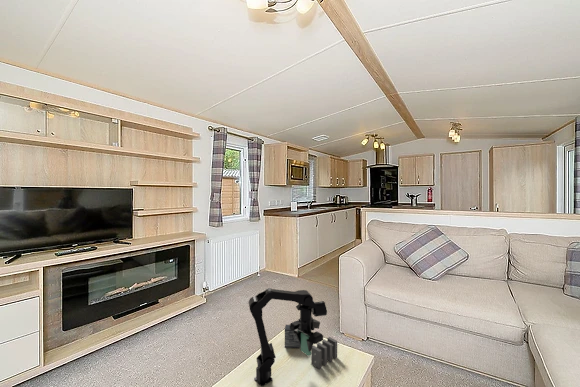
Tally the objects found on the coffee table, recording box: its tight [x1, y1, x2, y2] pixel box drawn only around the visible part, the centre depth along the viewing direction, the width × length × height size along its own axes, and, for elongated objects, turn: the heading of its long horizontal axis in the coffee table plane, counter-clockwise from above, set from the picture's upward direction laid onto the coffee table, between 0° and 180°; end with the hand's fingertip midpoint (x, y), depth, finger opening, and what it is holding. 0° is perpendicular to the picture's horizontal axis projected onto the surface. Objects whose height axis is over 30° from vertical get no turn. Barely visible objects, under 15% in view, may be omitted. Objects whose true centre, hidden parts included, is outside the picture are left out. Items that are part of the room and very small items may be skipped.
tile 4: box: [321, 339, 333, 363], centre depth 139 cm, size 2×6×9 cm, turn 40°
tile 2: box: [310, 345, 323, 370], centre depth 133 cm, size 2×6×9 cm, turn 41°
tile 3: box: [316, 342, 328, 366], centre depth 136 cm, size 2×6×9 cm, turn 41°
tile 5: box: [326, 336, 338, 360], centre depth 142 cm, size 2×6×9 cm, turn 41°
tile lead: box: [300, 332, 311, 357], centre depth 129 cm, size 2×6×9 cm, turn 41°
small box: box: [284, 324, 301, 349], centre depth 152 cm, size 11×6×10 cm, turn 84°
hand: (305, 348), depth 129 cm, fingers closed on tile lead, 5 cm apart
